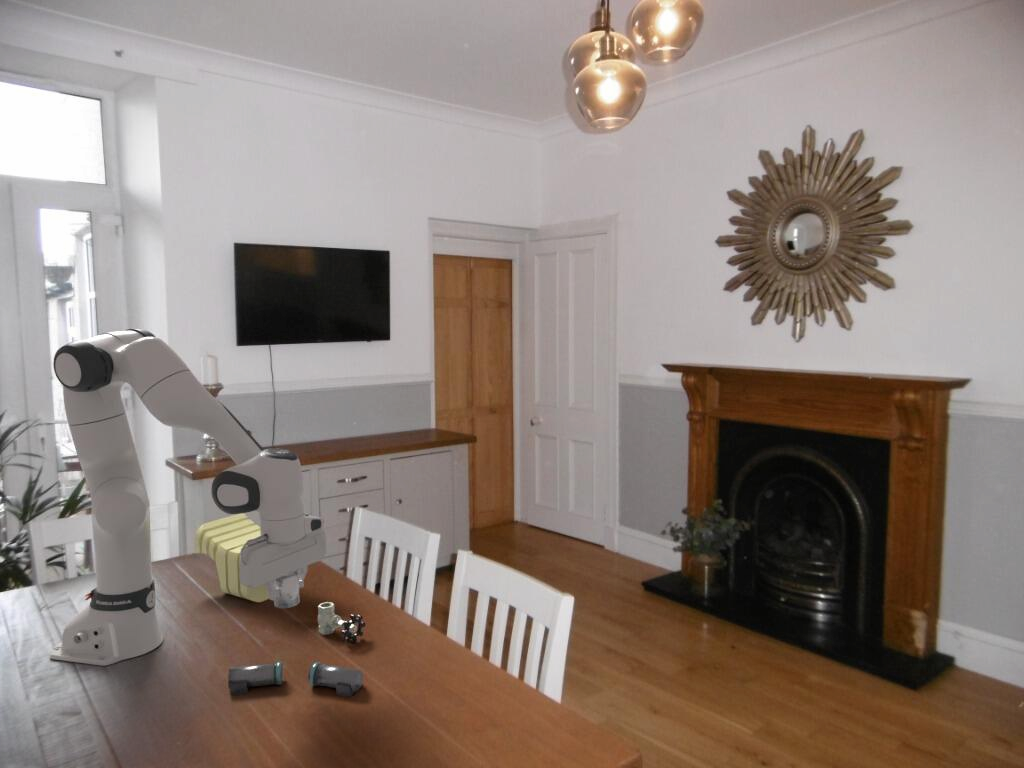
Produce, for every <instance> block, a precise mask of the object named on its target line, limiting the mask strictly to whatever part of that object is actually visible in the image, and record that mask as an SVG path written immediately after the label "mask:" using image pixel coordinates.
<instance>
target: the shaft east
mask: <svg viewBox="0 0 1024 768" xmlns="http://www.w3.org/2000/svg"><path fill="white" fill-rule="evenodd" d="M308 671H309V672H308V679H307V680H308V684H309V685H311V686H314V687H317V686H322V687H328V688H332V689H333V688H335V691H336V692H335V693H336V696H342V697H346V698H351V697H352V696H353V695H354V694H355V693H357V692H358V691H359V690H361V687H362V686H363V681H364V673H363V670H361V669H355V668H350V667H345V666H344V667H343V666H337V665H332V664H331V665H330V664H325V663H323V662H320V661H316V662H314V663H312V665H311V667H310V669H309V670H308Z"/></svg>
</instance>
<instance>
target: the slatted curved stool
mask: <svg viewBox="0 0 1024 768" xmlns="http://www.w3.org/2000/svg"><path fill="white" fill-rule="evenodd" d="M259 536H261V534H260V525H258V524H255V522H254V521H253V520H251V519H250V518H249V519H248V516H247V515H246V513H241V514H231V515H230V516H225V517H222V518H218V519H216V520H212V521H209V522H205V523H203V524H202V525H200V526H199V527H198V529H196V532H195V536H194V551H195V554H203V555H204V554H205V555H208V557H210V558H211V559H212V561H215V567H216V570H217V574H218V579H219V587H220V590H221V592H223V593H225V594H229V595H230V596H231V595H232V596H233V597H234V596H235V597H239V598H241V599H244V600H248V601H252V602H254V603H262V602H264V601H265V602H266V601H267V600H270V599H269V596H268V591H267V589H266V588H265V587H264V585H260V586H258V587H256V588H249V587H246V586H243V585H242V584H241V583H240V578H239V574H240V559H241V549H242V547H243V546H244V545H245V544H246V542H247V541H248V540H251V539H255V538H257V537H259Z"/></svg>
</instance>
